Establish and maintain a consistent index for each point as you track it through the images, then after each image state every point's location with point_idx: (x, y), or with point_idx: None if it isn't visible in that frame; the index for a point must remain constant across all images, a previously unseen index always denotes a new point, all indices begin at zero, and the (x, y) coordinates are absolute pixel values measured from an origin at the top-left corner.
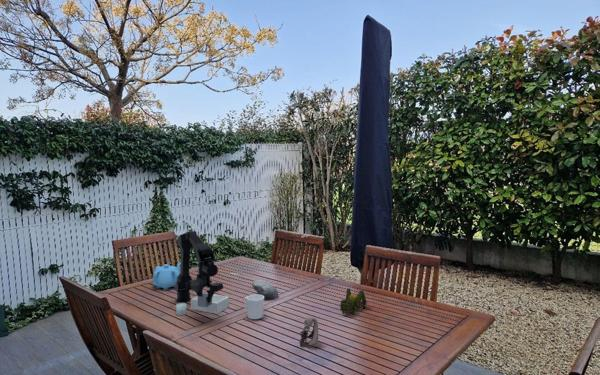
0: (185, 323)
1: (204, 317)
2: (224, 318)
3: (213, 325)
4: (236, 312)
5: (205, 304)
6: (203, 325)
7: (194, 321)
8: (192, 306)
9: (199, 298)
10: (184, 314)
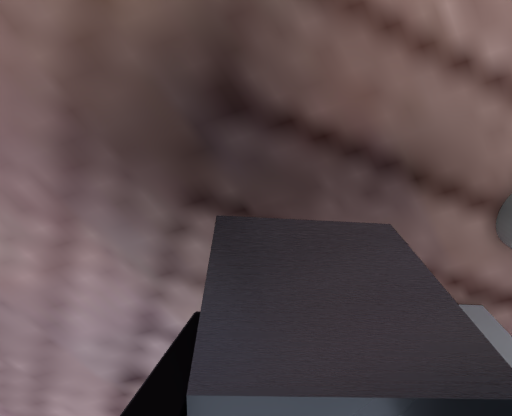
0: (421, 2)
1: (290, 209)
2: (103, 245)
3: (74, 64)
4: (102, 353)
5: (221, 244)
6: (180, 23)
7: (341, 93)
8: (484, 324)
9: (422, 336)
10: (508, 202)
